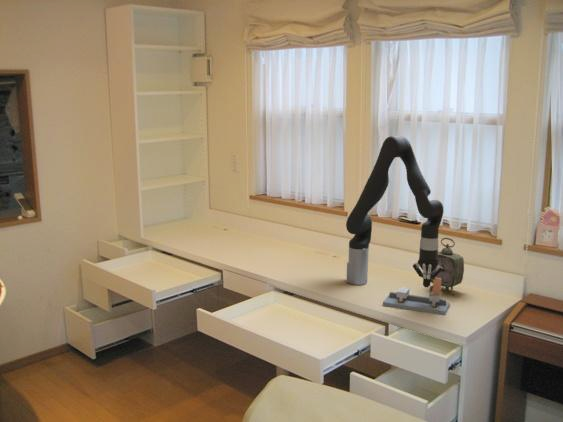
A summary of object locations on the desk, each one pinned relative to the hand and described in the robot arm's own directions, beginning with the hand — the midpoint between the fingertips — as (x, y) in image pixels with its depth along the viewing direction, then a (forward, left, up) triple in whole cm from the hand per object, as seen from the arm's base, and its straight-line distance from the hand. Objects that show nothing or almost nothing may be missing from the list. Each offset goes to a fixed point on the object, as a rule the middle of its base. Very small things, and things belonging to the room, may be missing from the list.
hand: (426, 286), depth 264 cm
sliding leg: (+4, -2, -6) cm, 8 cm away
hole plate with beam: (-4, -2, -8) cm, 9 cm away
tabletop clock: (+4, +23, -8) cm, 24 cm away
